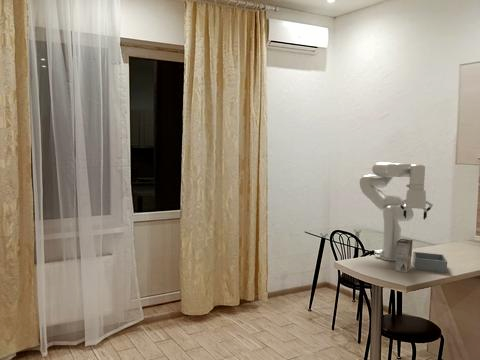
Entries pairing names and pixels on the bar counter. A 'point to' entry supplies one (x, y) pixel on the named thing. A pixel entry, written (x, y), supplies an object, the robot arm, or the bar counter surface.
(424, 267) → the bin
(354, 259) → the bar counter surface
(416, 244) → the bar counter surface
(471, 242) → the bar counter surface
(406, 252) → the coffee box
